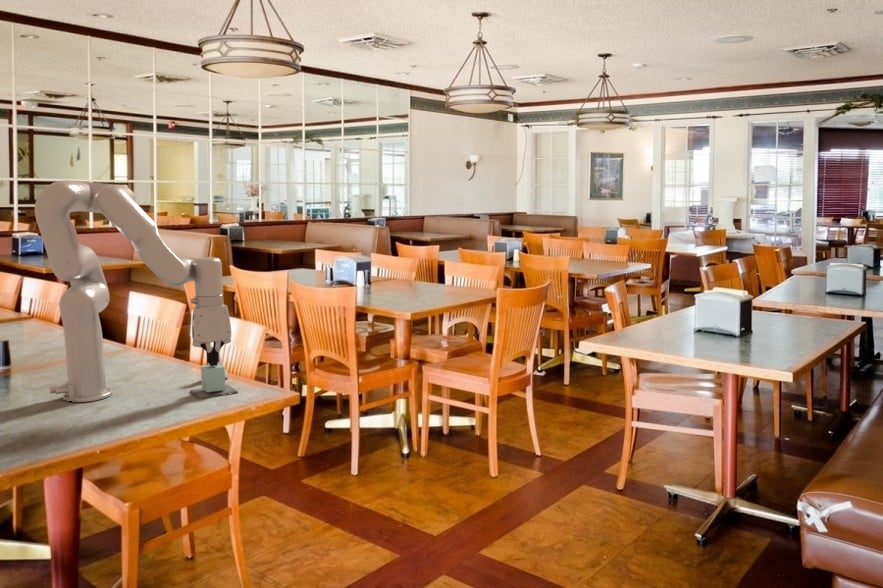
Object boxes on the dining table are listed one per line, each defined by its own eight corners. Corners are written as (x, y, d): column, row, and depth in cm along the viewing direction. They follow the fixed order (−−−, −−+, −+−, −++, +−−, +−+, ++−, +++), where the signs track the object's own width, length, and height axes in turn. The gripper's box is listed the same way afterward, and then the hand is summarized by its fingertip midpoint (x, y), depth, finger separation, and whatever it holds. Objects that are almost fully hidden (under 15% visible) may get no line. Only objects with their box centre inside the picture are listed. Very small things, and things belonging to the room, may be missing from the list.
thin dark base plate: (198, 399, 211) (197, 374, 210) (190, 391, 218) (188, 367, 217) (237, 393, 217) (236, 369, 216) (228, 386, 224) (227, 363, 223)
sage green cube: (206, 392, 214) (205, 369, 213) (201, 388, 218) (200, 365, 217) (225, 389, 216) (224, 367, 215) (220, 385, 221) (219, 363, 220)
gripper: (185, 305, 207) (189, 371, 209) (240, 300, 214) (243, 364, 217) (179, 302, 213) (182, 366, 215) (231, 297, 221) (235, 359, 223)
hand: (213, 364), depth 216 cm, fingers closed
